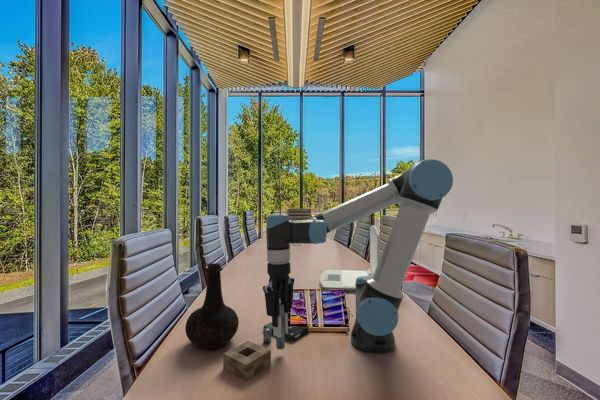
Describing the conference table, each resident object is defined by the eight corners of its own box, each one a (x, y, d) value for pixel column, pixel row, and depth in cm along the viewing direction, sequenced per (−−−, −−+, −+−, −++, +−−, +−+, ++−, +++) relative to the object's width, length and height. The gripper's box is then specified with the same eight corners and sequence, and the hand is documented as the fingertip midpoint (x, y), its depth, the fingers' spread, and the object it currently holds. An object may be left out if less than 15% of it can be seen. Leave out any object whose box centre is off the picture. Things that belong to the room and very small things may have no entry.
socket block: (270, 364, 90) (270, 350, 90) (246, 380, 82) (246, 364, 82) (248, 354, 96) (248, 340, 96) (223, 368, 88) (223, 353, 88)
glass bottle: (179, 340, 106) (179, 262, 106) (226, 327, 117) (226, 256, 117) (194, 362, 92) (194, 272, 92) (247, 345, 103) (246, 264, 103)
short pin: (272, 341, 105) (272, 329, 105) (267, 344, 103) (267, 331, 103) (267, 339, 107) (267, 326, 107) (261, 342, 105) (261, 329, 105)
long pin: (286, 346, 97) (285, 303, 97) (281, 350, 94) (280, 306, 94) (280, 344, 98) (279, 302, 98) (274, 347, 96) (273, 304, 96)
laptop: (322, 273, 204) (322, 223, 204) (371, 274, 199) (371, 223, 199) (318, 291, 163) (317, 228, 163) (379, 294, 158) (379, 229, 158)
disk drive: (309, 333, 113) (280, 323, 122) (309, 326, 113) (280, 316, 122) (292, 344, 105) (262, 332, 114) (292, 336, 105) (262, 325, 114)
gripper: (285, 256, 105) (287, 323, 105) (253, 265, 92) (255, 340, 92) (302, 258, 100) (304, 328, 100) (270, 267, 88) (272, 347, 88)
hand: (280, 333), depth 96 cm, fingers closed on long pin, 3 cm apart
